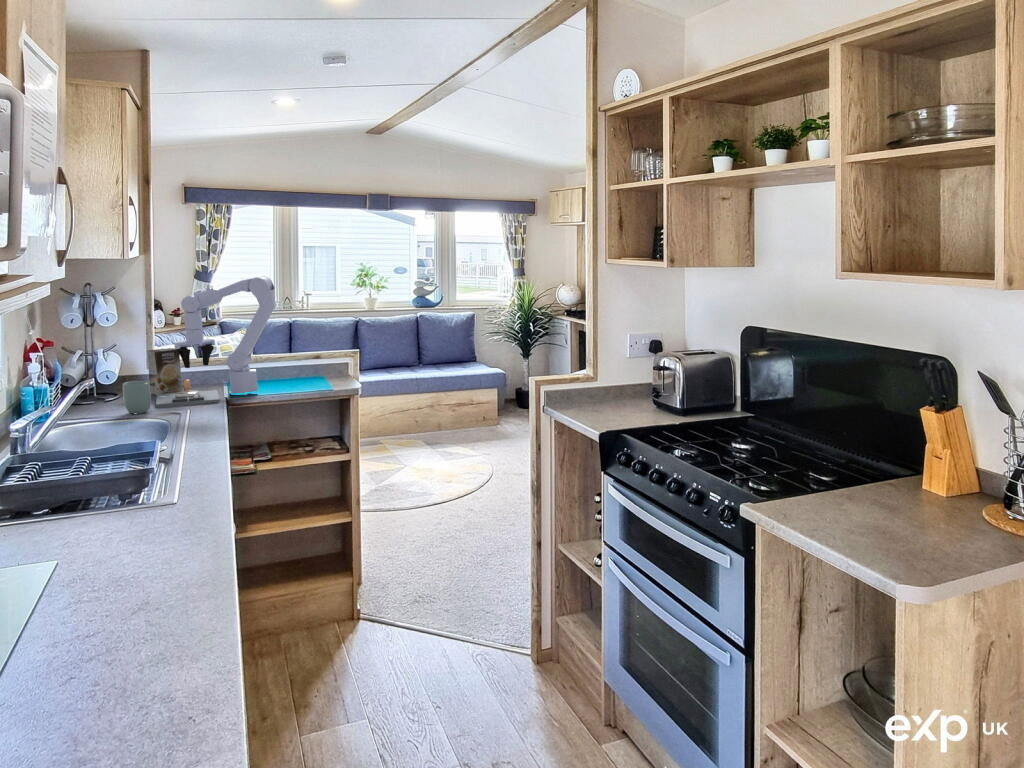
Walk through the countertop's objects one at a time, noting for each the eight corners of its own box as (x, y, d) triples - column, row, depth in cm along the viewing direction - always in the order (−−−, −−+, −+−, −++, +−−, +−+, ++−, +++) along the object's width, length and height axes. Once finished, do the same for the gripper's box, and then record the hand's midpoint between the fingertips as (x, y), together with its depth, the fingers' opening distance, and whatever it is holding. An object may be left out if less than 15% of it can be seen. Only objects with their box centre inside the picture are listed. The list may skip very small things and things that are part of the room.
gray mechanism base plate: (217, 393, 271) (216, 385, 271) (220, 402, 255) (219, 394, 255) (157, 397, 263) (156, 389, 263) (156, 407, 247) (155, 399, 247)
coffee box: (159, 395, 267) (155, 351, 264) (150, 393, 271) (145, 350, 268) (183, 391, 274) (179, 348, 271) (173, 389, 278) (169, 347, 275)
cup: (144, 415, 236) (141, 385, 234) (120, 415, 236) (117, 385, 234) (156, 410, 243) (153, 380, 242) (133, 410, 244) (130, 380, 242)
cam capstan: (200, 397, 257) (199, 384, 256) (175, 399, 254) (174, 386, 253) (199, 391, 268) (198, 378, 267) (175, 392, 264) (174, 380, 264)
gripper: (206, 326, 272) (208, 362, 275) (168, 330, 261) (171, 367, 263) (217, 328, 268) (219, 364, 271) (179, 331, 257) (182, 369, 259)
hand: (196, 366), depth 267 cm, fingers open, 7 cm apart
